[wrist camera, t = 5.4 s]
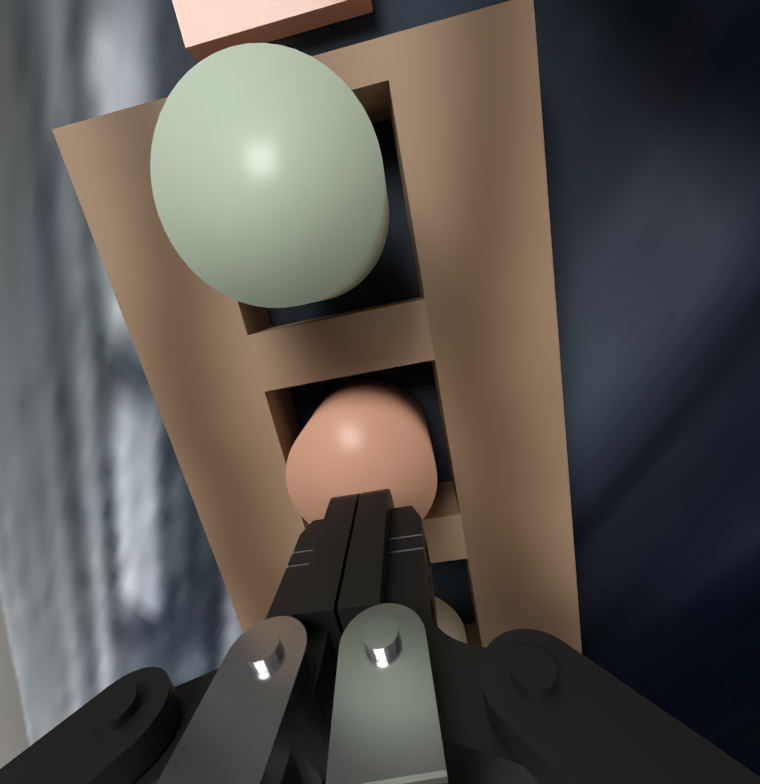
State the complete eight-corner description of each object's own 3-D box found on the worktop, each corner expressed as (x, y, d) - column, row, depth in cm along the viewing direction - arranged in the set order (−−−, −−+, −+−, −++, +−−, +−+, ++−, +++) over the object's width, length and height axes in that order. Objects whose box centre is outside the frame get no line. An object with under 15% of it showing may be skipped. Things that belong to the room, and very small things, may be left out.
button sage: (370, 102, 10) (356, 9, 7) (403, 283, 11) (404, 283, 8) (205, 145, 11) (113, 80, 7) (253, 314, 12) (195, 327, 8)
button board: (506, 52, 12) (532, -7, 10) (559, 629, 18) (584, 681, 16) (113, 156, 13) (51, 129, 11) (288, 659, 20) (273, 710, 17)
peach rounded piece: (417, 369, 14) (423, 395, 11) (437, 479, 15) (448, 534, 12) (297, 391, 15) (267, 423, 11) (326, 497, 16) (306, 553, 13)
